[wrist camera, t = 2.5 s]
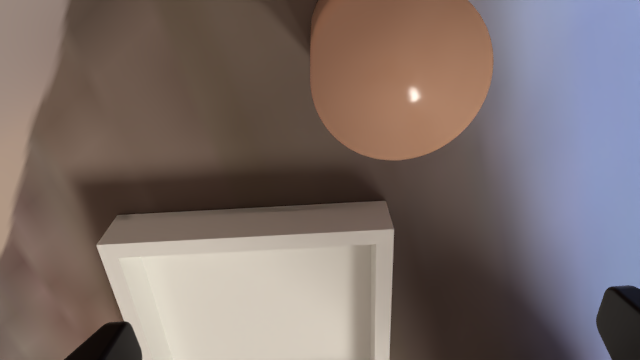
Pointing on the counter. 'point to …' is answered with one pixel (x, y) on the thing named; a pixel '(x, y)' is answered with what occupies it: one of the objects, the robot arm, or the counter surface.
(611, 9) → the counter surface
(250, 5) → the counter surface
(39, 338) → the counter surface
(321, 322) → the tray
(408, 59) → the peach rounded cylinder
